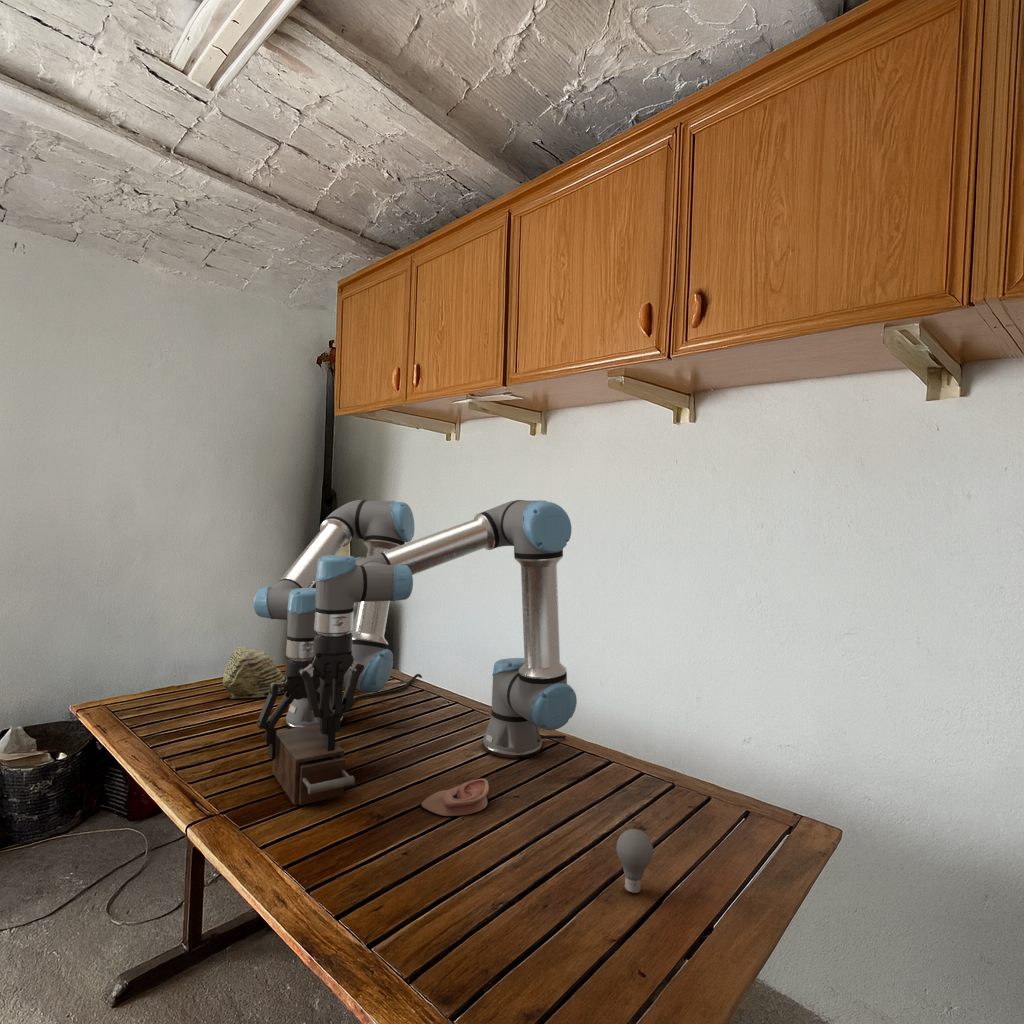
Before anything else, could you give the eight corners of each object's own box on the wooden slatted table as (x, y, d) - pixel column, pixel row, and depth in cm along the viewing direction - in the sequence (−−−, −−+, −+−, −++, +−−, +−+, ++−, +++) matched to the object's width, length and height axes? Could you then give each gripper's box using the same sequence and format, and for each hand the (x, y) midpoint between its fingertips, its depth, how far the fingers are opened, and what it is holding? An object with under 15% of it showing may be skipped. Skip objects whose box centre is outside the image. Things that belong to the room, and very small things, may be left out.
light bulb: (610, 879, 108) (613, 822, 108) (644, 879, 109) (647, 822, 109) (619, 902, 102) (622, 840, 102) (655, 901, 103) (658, 840, 103)
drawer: (353, 807, 128) (355, 769, 128) (309, 818, 123) (310, 779, 123) (319, 765, 147) (320, 733, 147) (278, 773, 142) (280, 740, 141)
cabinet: (342, 794, 135) (344, 750, 135) (294, 805, 129) (295, 759, 129) (316, 763, 150) (318, 724, 150) (272, 772, 144) (273, 731, 144)
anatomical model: (416, 792, 129) (434, 769, 140) (415, 812, 129) (434, 787, 140) (479, 801, 126) (493, 777, 137) (479, 821, 126) (492, 795, 137)
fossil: (218, 695, 195) (220, 647, 195) (278, 685, 208) (279, 640, 207) (228, 703, 189) (230, 653, 188) (289, 692, 201) (290, 645, 201)
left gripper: (251, 666, 134) (248, 769, 134) (359, 655, 147) (356, 748, 148) (244, 658, 140) (240, 756, 140) (348, 648, 154) (344, 737, 154)
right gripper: (306, 639, 121) (301, 761, 121) (371, 633, 128) (366, 749, 128) (295, 631, 127) (290, 748, 127) (357, 626, 134) (353, 736, 135)
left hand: (299, 752), depth 144 cm, fingers open, 11 cm apart
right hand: (329, 748), depth 128 cm, fingers closed
